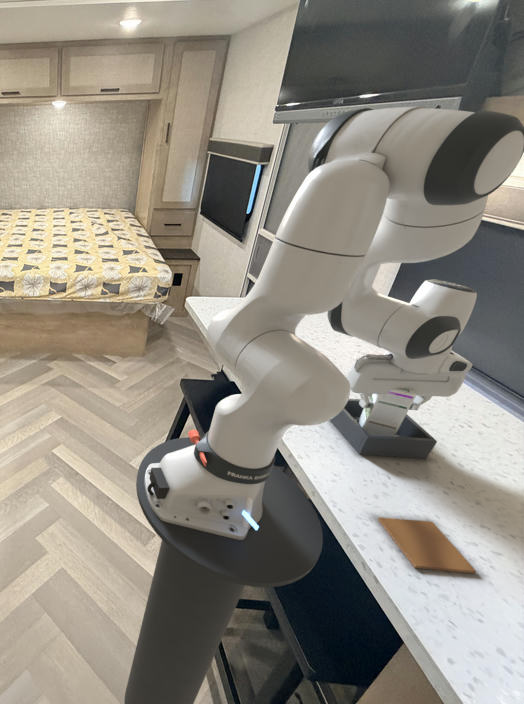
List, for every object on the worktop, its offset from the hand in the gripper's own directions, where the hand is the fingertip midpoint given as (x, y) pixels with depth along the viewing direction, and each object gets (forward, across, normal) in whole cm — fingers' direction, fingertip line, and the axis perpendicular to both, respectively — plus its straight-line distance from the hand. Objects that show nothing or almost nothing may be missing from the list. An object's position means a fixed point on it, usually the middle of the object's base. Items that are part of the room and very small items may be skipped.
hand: (387, 407), depth 89 cm
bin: (+8, 0, 0) cm, 8 cm away
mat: (+8, -9, -28) cm, 31 cm away
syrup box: (+8, 0, 0) cm, 8 cm away
